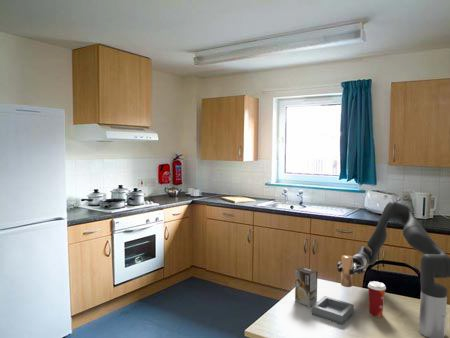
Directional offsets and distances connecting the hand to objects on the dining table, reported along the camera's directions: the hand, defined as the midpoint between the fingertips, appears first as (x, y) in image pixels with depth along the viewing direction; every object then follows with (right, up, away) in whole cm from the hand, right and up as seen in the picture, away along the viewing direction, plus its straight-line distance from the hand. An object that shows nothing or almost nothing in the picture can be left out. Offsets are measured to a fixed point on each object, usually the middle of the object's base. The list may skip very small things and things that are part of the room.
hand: (345, 271), depth 172 cm
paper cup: (+11, -17, -8) cm, 22 cm away
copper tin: (+2, -7, +3) cm, 8 cm away
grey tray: (-9, -17, -9) cm, 21 cm away
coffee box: (-18, -16, +3) cm, 25 cm away
